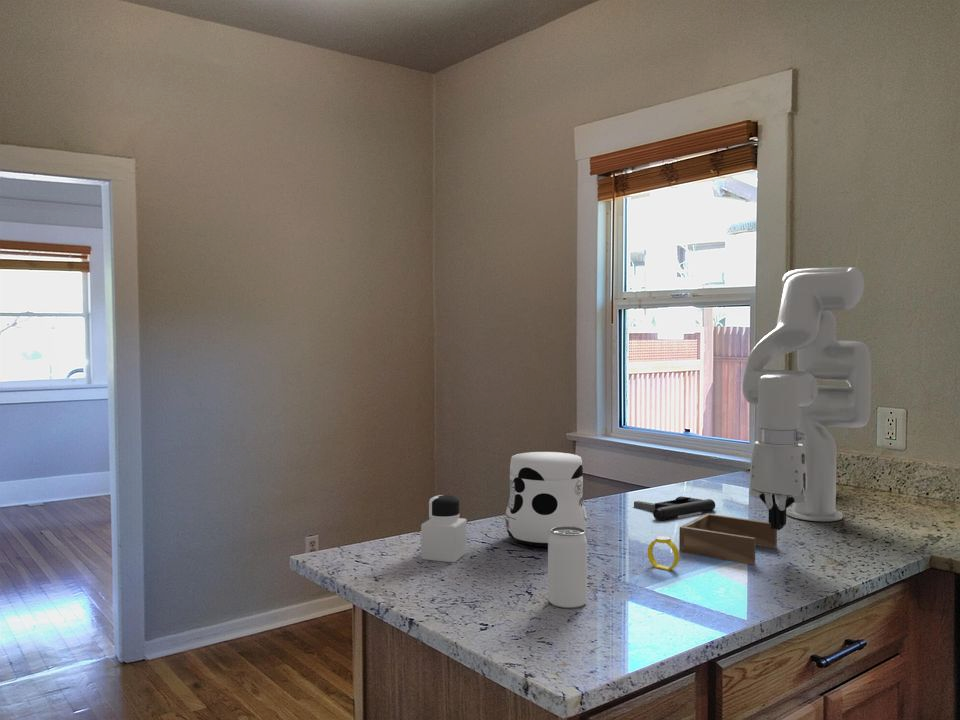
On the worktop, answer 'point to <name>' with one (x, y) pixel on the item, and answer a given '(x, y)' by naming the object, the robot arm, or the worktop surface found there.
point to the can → (567, 567)
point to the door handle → (677, 507)
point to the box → (726, 537)
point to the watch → (676, 553)
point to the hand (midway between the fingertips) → (777, 527)
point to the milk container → (544, 495)
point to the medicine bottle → (444, 531)
